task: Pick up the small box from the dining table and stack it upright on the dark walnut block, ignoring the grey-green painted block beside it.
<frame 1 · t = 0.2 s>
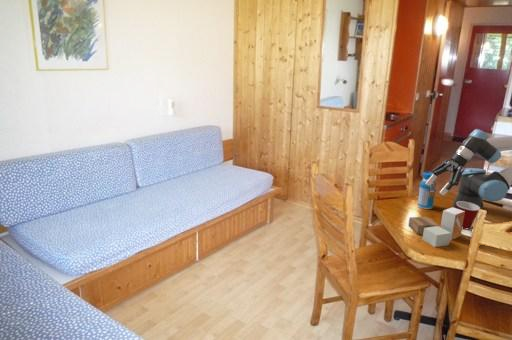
hand: (434, 189, 200), 16 cm above the table, tool tilted 35°, fingers open, 13 cm apart
plastic cup: (464, 227, 194), on the table
walnut block: (422, 230, 190), on the table
small box: (449, 236, 184), on the table
beverage bottle: (424, 207, 220), on the table
grey block: (435, 242, 177), on the table
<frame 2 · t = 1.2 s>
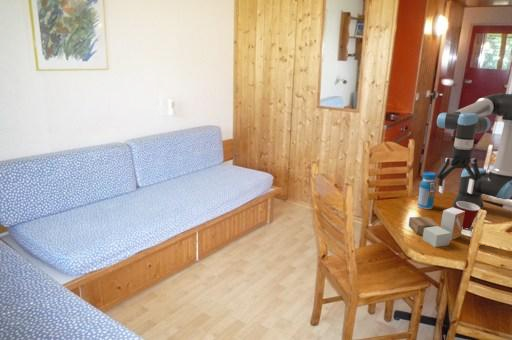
hand: (455, 192, 178), 22 cm above the table, tool pointing down, fingers open, 13 cm apart
nothing on the table moved.
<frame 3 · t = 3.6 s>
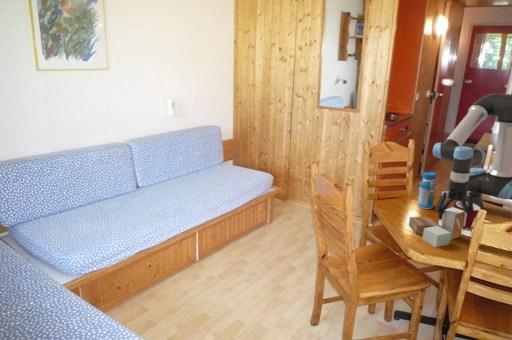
hand: (451, 225, 182), 6 cm above the table, tool pointing down, fingers closed on small box, 10 cm apart
small box: (449, 236, 183), on the table, touching gripper
everything else where it was.
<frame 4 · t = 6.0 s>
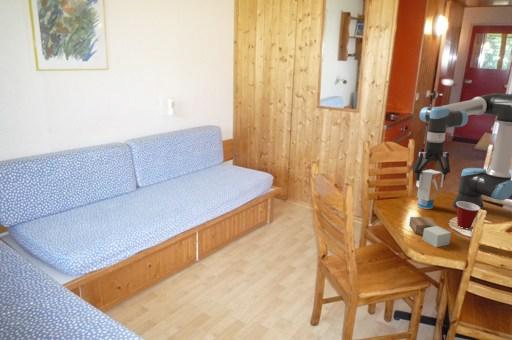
hand: (429, 186, 183), 22 cm above the table, tool pointing down, fingers closed on small box, 10 cm apart
small box: (427, 198, 185), point 17 cm above the table, touching gripper
everything else where it was.
when the fingers open (12 cm above the table, at t = 8.9 s): small box drops 1 cm, resting on walnut block.
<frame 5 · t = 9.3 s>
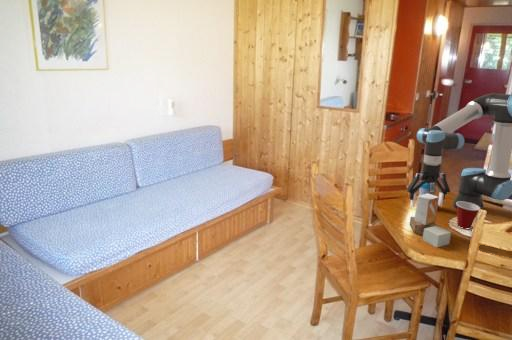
hand: (426, 205, 186), 13 cm above the table, tool pointing down, fingers open, 13 cm apart
walnut block: (422, 230, 190), on the table, touching small box
small box: (424, 221, 188), point 4 cm above the table, touching walnut block
everything else where it was.
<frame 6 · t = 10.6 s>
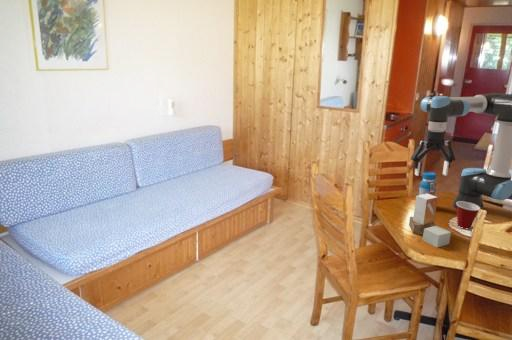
hand: (430, 175, 182), 28 cm above the table, tool pointing down, fingers open, 13 cm apart
nothing on the table moved.
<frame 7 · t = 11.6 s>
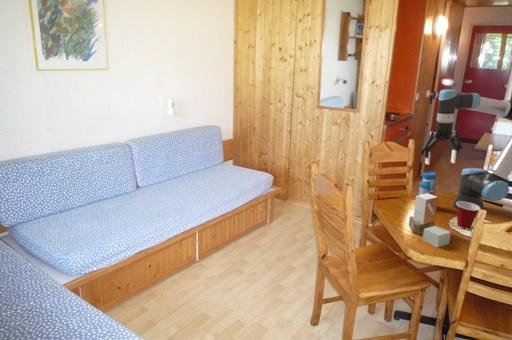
hand: (440, 163, 195), 30 cm above the table, tool pointing down, fingers open, 13 cm apart
nothing on the table moved.
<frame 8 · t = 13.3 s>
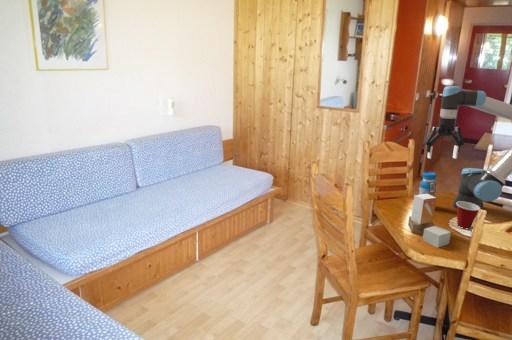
hand: (441, 158, 200), 32 cm above the table, tool pointing down, fingers open, 13 cm apart
walnut block: (420, 230, 190), on the table
small box: (421, 221, 189), point 4 cm above the table
everything else where it was.
at the end: small box inside the target area on the walnut block (0.4 cm from its centre), point 4.8 cm above the walnut block's base; small box touching walnut block; small box tilted 0° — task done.
